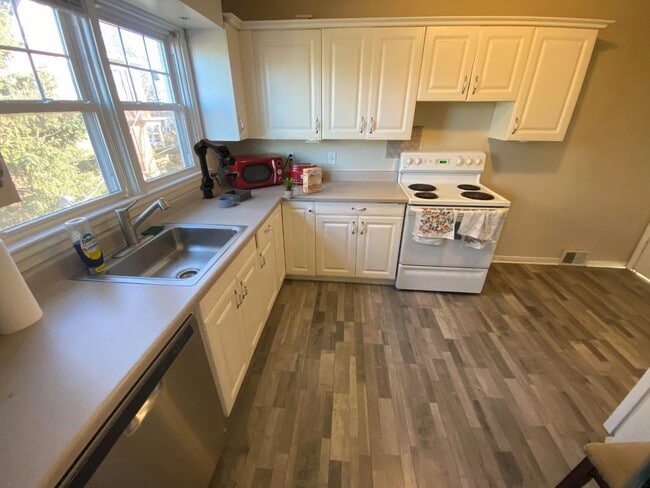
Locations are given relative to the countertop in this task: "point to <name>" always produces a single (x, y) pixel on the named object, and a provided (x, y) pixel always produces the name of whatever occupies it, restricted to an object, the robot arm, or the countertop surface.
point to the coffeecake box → (312, 180)
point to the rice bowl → (226, 202)
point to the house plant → (289, 188)
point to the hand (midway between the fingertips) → (226, 186)
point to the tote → (237, 194)
